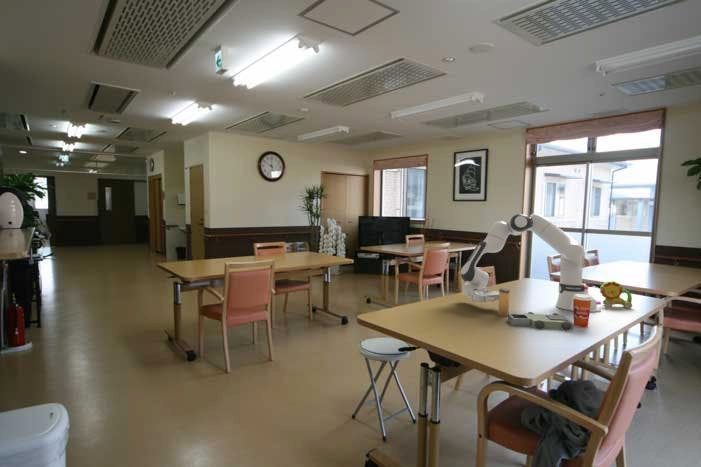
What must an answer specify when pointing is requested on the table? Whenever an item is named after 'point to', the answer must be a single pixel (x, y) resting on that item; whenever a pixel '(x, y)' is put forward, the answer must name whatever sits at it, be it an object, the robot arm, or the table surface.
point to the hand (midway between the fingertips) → (499, 299)
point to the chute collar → (519, 319)
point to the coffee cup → (581, 309)
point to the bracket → (595, 300)
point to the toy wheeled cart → (550, 321)
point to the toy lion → (615, 294)
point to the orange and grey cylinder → (504, 302)
